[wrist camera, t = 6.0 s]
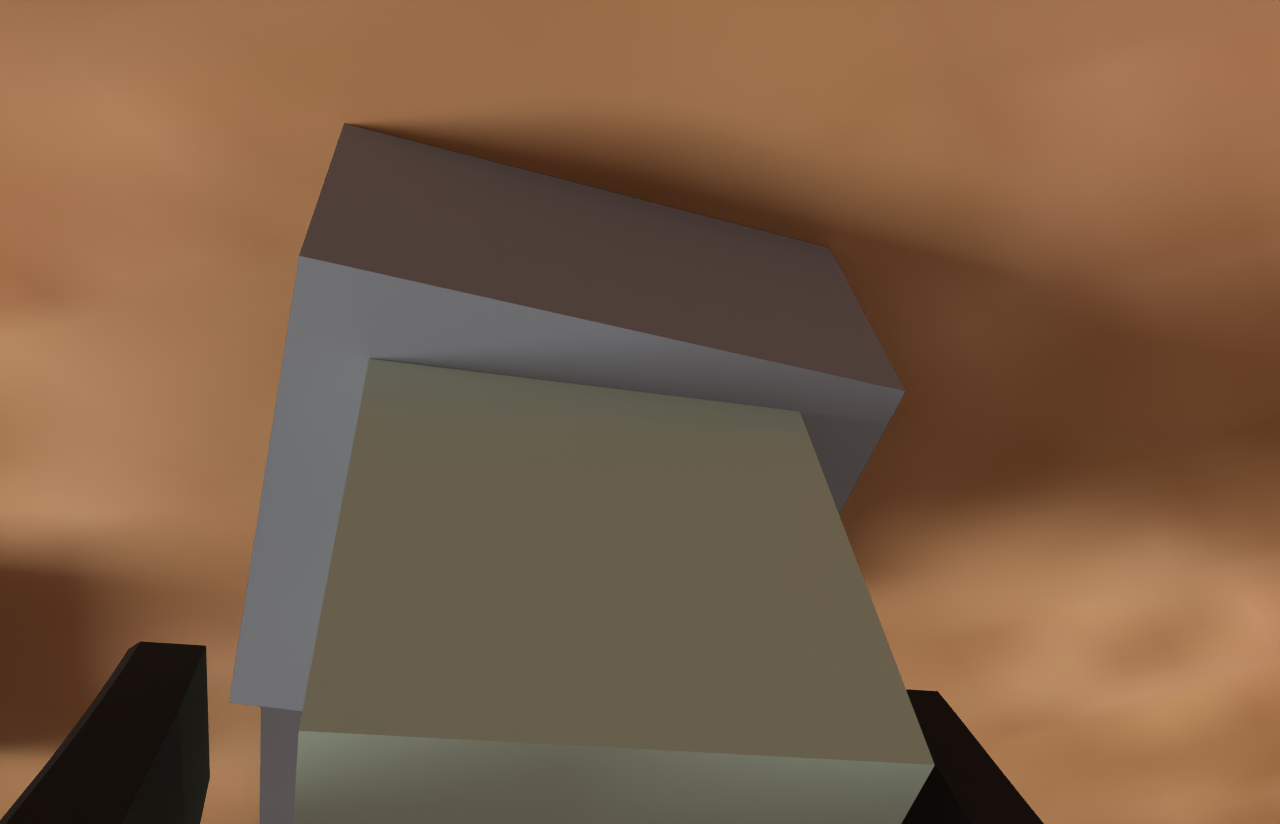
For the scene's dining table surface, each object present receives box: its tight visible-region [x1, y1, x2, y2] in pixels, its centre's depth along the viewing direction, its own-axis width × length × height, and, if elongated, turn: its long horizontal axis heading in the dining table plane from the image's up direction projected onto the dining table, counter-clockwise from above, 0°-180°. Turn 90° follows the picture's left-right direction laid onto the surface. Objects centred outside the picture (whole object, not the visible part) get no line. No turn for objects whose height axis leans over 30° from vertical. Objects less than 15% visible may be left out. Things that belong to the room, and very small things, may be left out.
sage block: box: [293, 359, 934, 824], centre depth 12 cm, size 5×5×5 cm
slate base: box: [229, 123, 906, 711], centre depth 15 cm, size 7×7×4 cm
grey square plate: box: [260, 706, 302, 824], centre depth 22 cm, size 8×8×1 cm
